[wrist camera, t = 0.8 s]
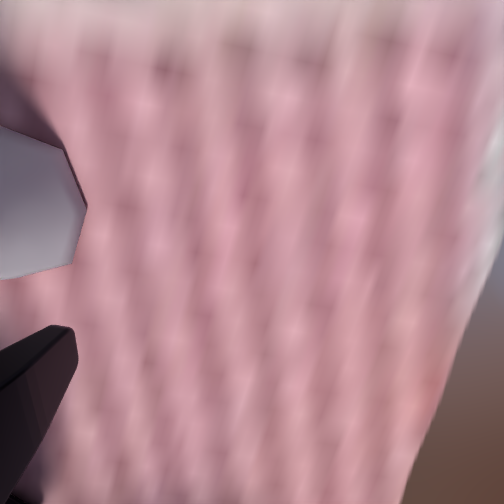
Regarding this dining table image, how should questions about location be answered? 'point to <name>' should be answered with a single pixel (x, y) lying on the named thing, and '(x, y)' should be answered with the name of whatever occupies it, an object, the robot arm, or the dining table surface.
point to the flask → (36, 207)
